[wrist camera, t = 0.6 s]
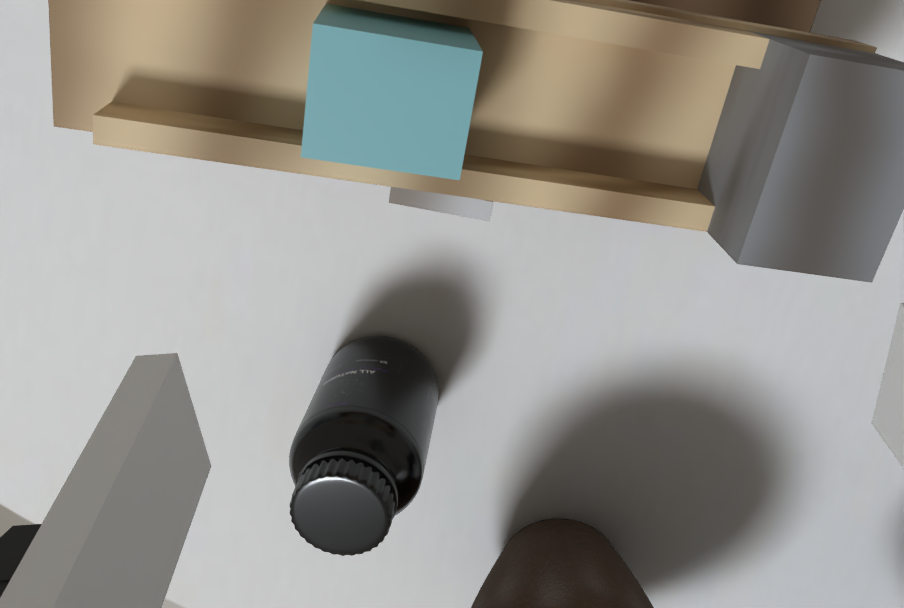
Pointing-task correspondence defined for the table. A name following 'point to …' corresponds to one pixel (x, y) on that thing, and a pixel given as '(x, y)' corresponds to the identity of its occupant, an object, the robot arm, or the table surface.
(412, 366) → the supplement bottle
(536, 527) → the plant pot
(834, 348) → the table surface
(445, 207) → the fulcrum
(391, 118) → the block
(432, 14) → the beam
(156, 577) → the robot arm
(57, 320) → the table surface
